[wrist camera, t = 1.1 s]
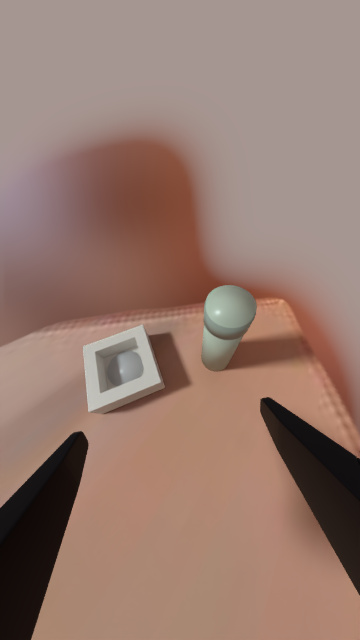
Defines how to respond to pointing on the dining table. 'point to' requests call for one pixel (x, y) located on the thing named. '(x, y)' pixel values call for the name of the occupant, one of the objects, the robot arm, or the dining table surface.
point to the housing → (120, 370)
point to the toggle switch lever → (225, 324)
